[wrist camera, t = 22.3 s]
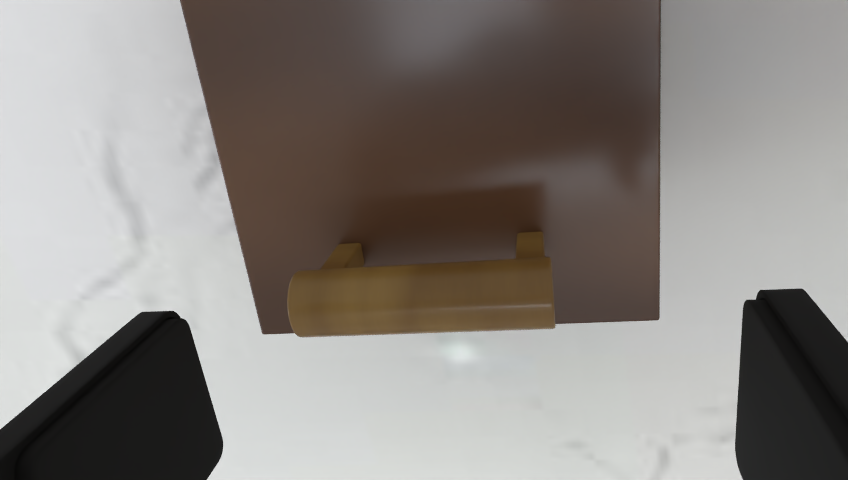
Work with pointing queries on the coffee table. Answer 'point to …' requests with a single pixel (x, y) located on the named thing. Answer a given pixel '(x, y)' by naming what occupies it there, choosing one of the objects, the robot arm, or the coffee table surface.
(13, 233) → the coffee table surface
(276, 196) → the lid
